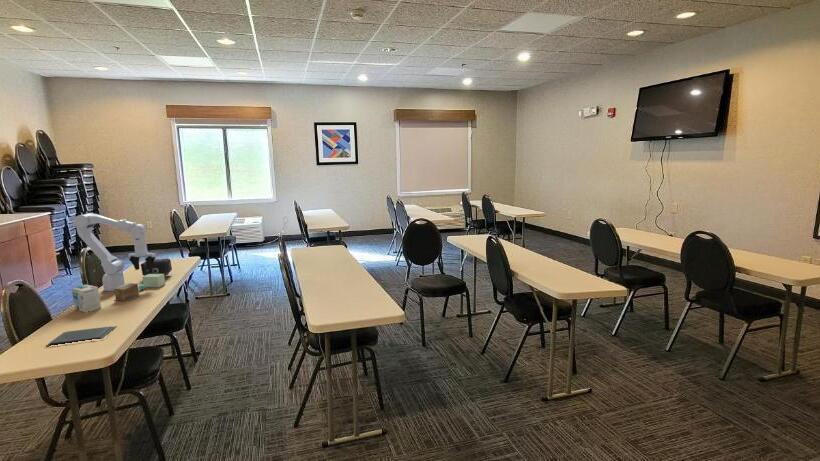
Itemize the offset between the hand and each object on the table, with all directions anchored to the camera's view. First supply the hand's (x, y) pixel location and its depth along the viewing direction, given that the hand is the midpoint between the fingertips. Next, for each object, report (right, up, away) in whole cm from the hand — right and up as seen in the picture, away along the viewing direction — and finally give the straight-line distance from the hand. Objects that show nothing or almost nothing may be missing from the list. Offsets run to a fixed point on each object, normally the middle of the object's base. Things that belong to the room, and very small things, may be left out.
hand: (143, 269), depth 229 cm
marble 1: (+1, -12, -8) cm, 14 cm away
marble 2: (+2, -11, -4) cm, 12 cm away
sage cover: (+4, -9, +3) cm, 11 cm away
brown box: (+3, -13, -17) cm, 21 cm away
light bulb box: (-6, -16, -31) cm, 36 cm away
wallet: (+16, -22, -63) cm, 68 cm away
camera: (-4, -7, +20) cm, 21 cm away
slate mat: (+3, -13, -17) cm, 22 cm away
